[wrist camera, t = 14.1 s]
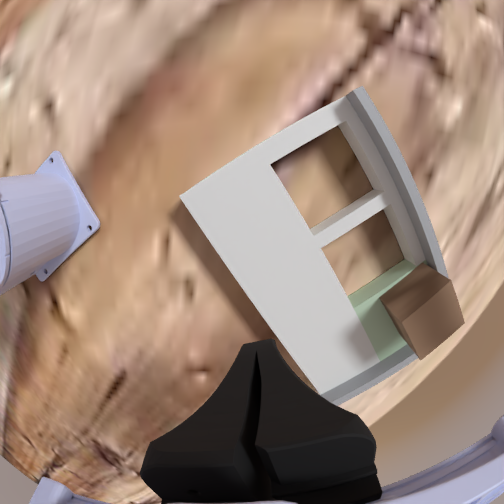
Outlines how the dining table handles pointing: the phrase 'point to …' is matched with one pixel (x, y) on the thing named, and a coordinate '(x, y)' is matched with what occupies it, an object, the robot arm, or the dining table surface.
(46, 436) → the dining table surface
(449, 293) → the walnut block
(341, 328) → the board
